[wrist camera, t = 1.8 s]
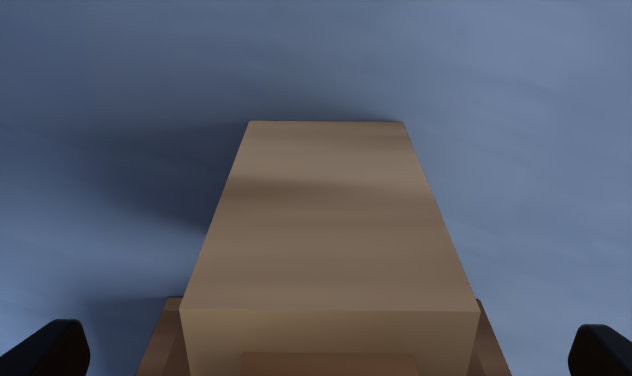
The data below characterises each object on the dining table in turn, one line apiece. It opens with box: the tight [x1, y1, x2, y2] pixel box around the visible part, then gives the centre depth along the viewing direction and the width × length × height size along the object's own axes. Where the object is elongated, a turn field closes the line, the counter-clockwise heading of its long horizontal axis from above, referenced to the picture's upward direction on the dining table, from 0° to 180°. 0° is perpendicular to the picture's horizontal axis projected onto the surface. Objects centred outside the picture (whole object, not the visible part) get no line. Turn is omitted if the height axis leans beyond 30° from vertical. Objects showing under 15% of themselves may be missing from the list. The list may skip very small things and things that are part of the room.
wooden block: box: [179, 121, 481, 376], centre depth 10 cm, size 4×4×8 cm
